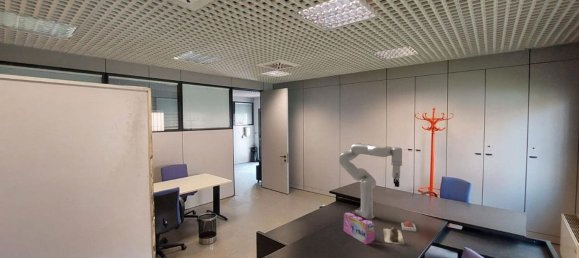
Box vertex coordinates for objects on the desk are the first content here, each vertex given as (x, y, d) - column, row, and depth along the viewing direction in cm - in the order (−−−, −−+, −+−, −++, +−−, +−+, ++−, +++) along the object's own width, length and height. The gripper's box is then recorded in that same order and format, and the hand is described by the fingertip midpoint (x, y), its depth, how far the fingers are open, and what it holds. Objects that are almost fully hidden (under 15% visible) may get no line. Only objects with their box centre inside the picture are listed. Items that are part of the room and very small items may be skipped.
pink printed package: (341, 230, 186) (342, 212, 186) (350, 228, 190) (350, 210, 190) (366, 244, 165) (366, 224, 165) (374, 241, 169) (375, 221, 169)
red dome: (405, 229, 187) (405, 222, 186) (404, 226, 192) (404, 219, 191) (412, 230, 185) (413, 223, 185) (411, 227, 190) (411, 220, 190)
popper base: (402, 231, 185) (402, 227, 185) (401, 226, 194) (401, 222, 194) (416, 232, 183) (416, 228, 183) (414, 227, 191) (414, 223, 191)
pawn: (390, 241, 167) (390, 228, 167) (389, 238, 172) (389, 225, 172) (398, 242, 166) (398, 229, 165) (397, 239, 171) (397, 226, 170)
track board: (384, 243, 167) (384, 241, 167) (383, 229, 188) (383, 228, 188) (404, 246, 163) (404, 244, 163) (400, 231, 184) (400, 230, 184)
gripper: (390, 161, 207) (390, 182, 207) (392, 165, 190) (392, 187, 191) (400, 161, 205) (400, 182, 205) (403, 165, 188) (402, 188, 189)
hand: (396, 185), depth 198 cm, fingers open, 9 cm apart
